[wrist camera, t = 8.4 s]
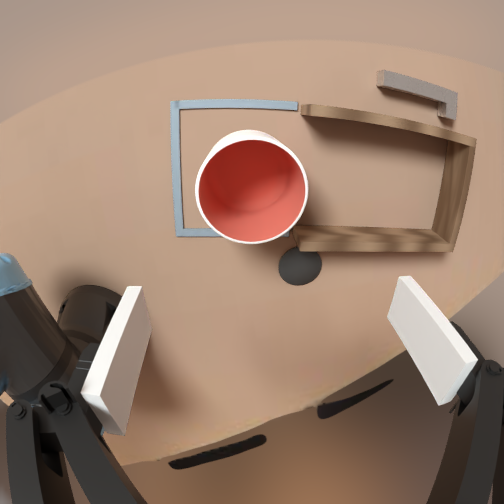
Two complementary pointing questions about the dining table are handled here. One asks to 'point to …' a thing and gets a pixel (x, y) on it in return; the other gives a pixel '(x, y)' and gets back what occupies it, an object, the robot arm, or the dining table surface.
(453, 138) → the cubby
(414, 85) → the hook bar
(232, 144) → the cup
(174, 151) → the pale blue bent rod
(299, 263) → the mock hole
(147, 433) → the dining table surface
